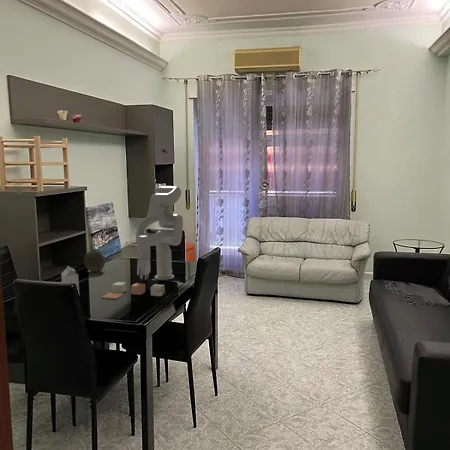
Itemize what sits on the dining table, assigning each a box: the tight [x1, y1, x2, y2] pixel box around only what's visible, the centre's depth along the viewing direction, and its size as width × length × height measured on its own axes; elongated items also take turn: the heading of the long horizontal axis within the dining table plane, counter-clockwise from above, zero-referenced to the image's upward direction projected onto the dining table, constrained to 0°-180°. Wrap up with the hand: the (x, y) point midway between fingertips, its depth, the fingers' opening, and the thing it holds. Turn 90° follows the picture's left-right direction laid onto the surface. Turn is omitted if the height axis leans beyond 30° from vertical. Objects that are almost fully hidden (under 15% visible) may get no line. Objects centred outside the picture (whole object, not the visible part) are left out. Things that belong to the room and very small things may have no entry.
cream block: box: [150, 283, 165, 297], centre depth 260 cm, size 6×6×5 cm
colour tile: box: [101, 292, 125, 300], centre depth 257 cm, size 9×9×1 cm
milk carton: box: [60, 265, 80, 295], centre depth 248 cm, size 7×7×19 cm
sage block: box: [111, 281, 127, 293], centre depth 266 cm, size 6×6×5 cm
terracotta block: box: [130, 282, 146, 296], centre depth 263 cm, size 6×6×5 cm
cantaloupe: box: [83, 250, 106, 273], centre depth 313 cm, size 14×14×15 cm
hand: (144, 285), depth 272 cm, fingers closed
